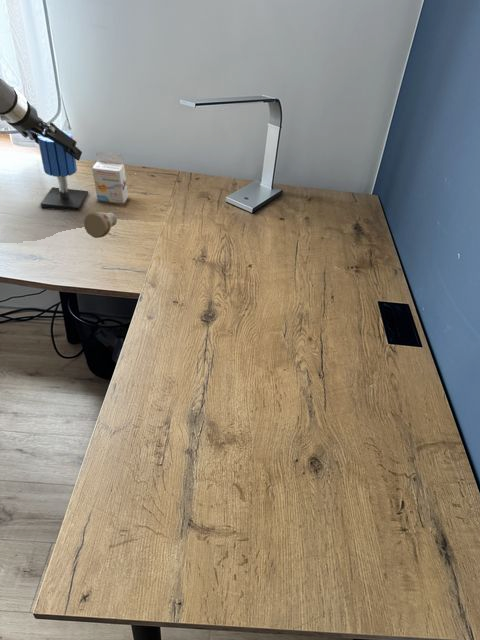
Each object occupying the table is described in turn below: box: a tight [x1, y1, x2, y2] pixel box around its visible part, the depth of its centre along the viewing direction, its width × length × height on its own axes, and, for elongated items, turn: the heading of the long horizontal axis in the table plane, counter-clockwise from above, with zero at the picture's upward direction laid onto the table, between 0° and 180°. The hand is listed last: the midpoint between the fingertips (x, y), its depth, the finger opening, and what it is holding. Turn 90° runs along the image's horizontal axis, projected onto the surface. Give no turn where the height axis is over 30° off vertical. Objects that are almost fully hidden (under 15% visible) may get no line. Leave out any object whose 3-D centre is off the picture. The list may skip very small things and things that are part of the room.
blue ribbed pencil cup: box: [37, 129, 78, 178], centre depth 145 cm, size 9×9×10 cm
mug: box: [83, 211, 118, 239], centre depth 143 cm, size 8×10×10 cm
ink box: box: [91, 151, 129, 204], centre depth 153 cm, size 8×5×15 cm, turn 84°
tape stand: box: [40, 176, 89, 211], centre depth 149 cm, size 11×11×17 cm
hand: (64, 152), depth 148 cm, fingers closed on blue ribbed pencil cup, 9 cm apart
